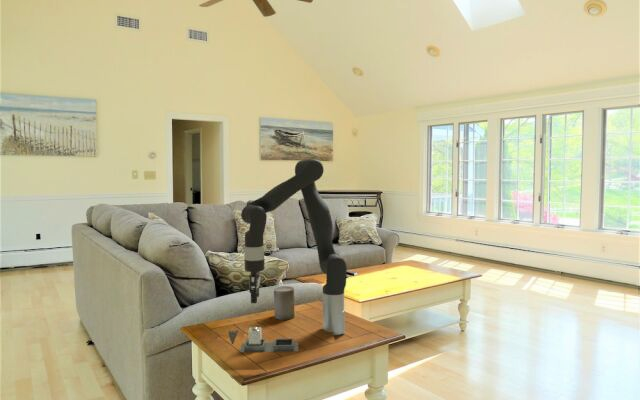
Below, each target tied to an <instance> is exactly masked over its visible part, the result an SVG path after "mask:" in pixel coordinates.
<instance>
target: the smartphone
mask: <svg viewBox="0 0 640 400" xmlns="http://www.w3.org/2000/svg"><path fill="white" fill-rule="evenodd" d="M238 334H239V330H230V331H228V335H229V338H230V342H231V344H234V343H235V341H236V338H237V336H238Z"/></svg>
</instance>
